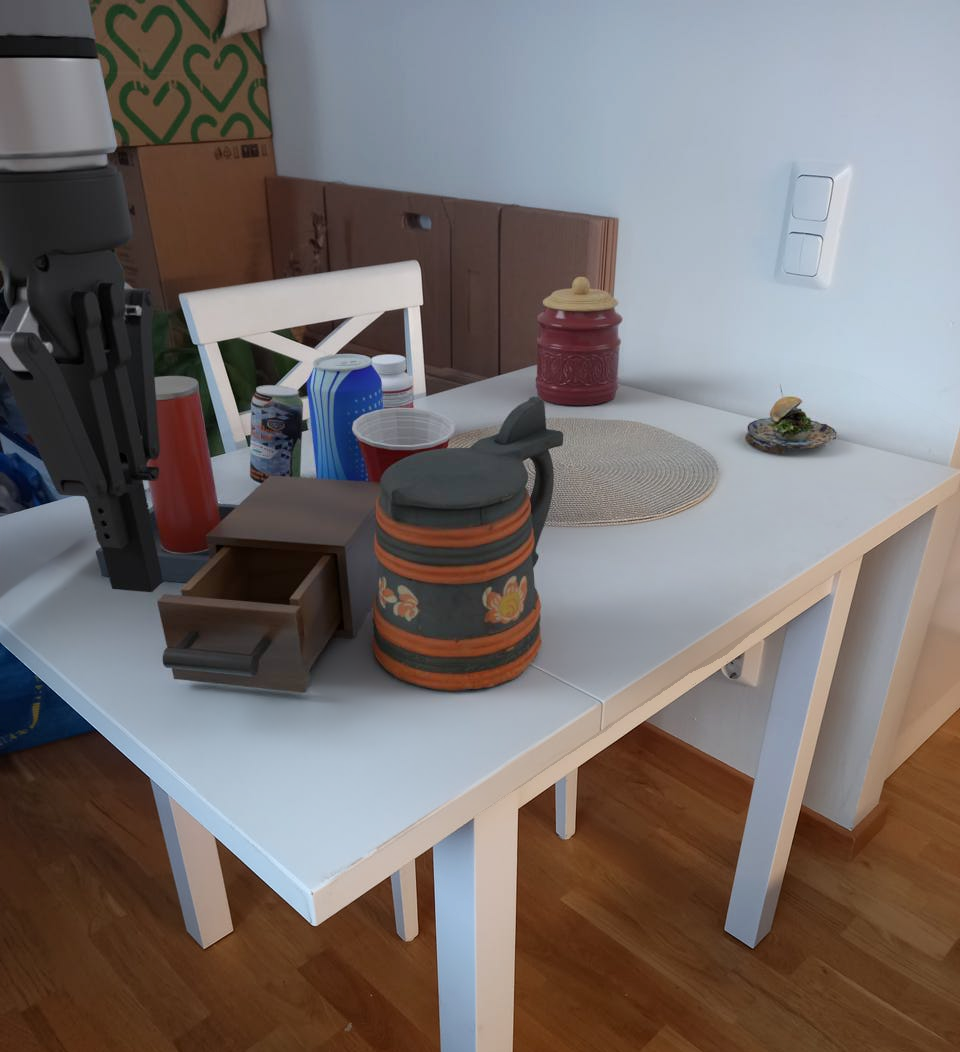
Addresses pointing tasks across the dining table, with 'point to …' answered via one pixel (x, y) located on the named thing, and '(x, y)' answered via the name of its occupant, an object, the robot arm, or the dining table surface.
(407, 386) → the pill bottle
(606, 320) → the kitchen canister
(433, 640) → the beer stein
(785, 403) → the burger
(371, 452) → the plastic cup
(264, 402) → the beverage can
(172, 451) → the tin
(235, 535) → the cabinet
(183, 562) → the tray
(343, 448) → the beer can
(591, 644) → the dining table surface
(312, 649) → the drawer
